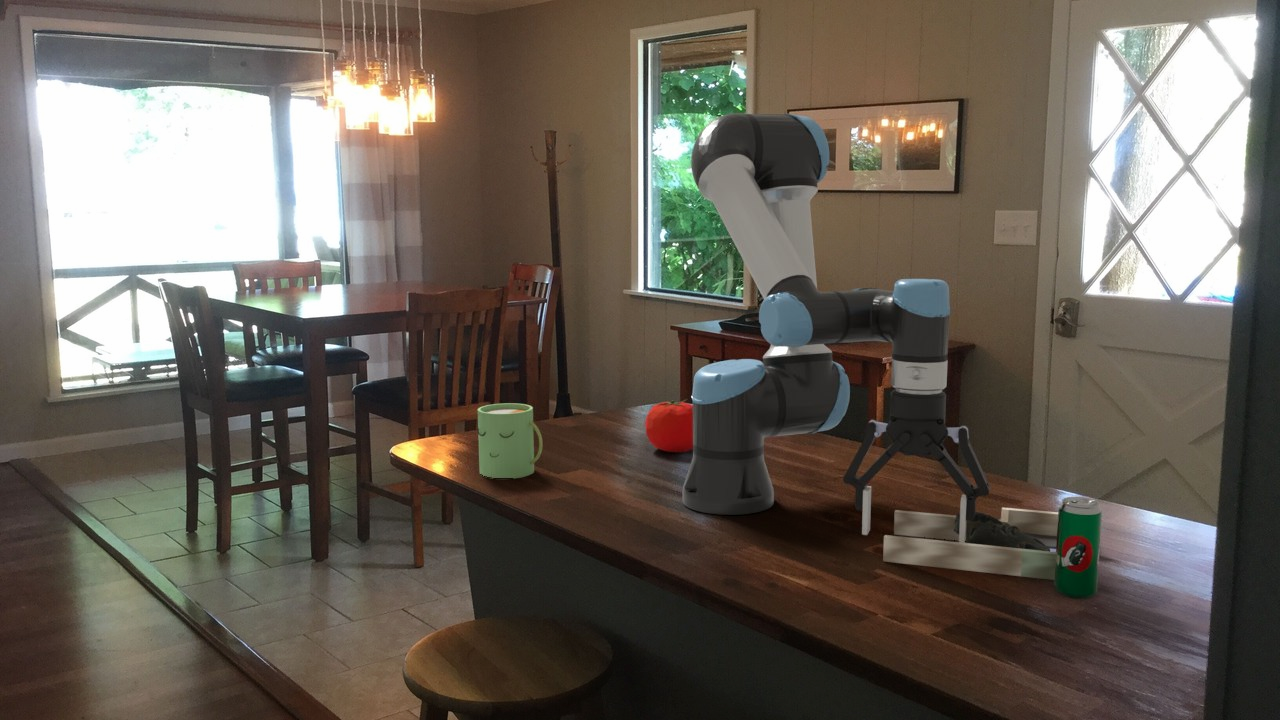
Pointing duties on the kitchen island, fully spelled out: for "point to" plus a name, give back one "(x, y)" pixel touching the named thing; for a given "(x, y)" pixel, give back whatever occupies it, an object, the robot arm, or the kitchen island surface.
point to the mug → (507, 440)
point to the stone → (997, 533)
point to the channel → (973, 555)
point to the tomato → (671, 426)
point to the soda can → (1077, 547)
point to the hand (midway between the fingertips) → (913, 537)
